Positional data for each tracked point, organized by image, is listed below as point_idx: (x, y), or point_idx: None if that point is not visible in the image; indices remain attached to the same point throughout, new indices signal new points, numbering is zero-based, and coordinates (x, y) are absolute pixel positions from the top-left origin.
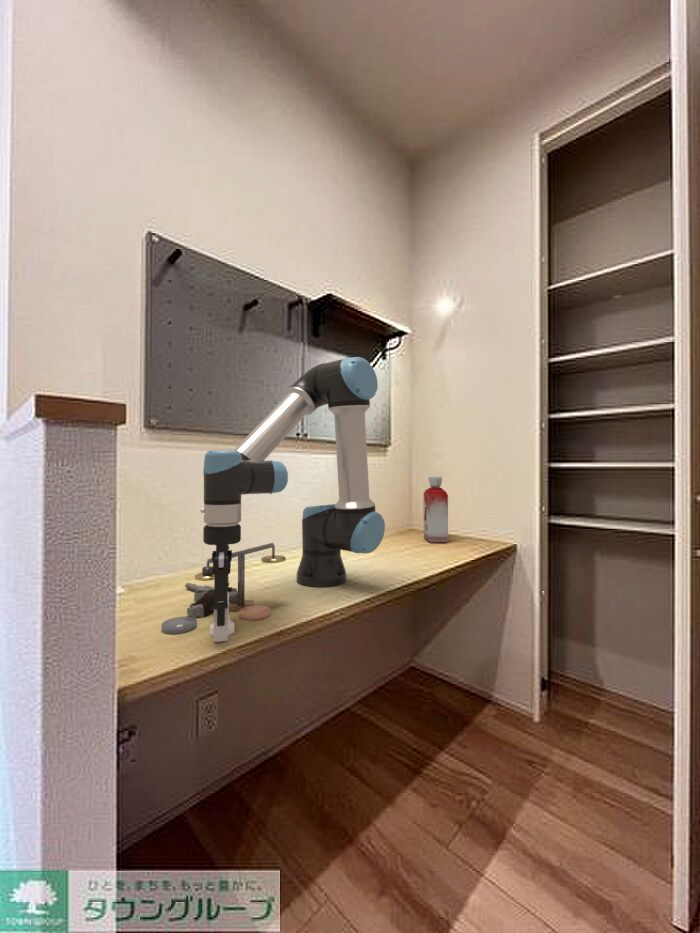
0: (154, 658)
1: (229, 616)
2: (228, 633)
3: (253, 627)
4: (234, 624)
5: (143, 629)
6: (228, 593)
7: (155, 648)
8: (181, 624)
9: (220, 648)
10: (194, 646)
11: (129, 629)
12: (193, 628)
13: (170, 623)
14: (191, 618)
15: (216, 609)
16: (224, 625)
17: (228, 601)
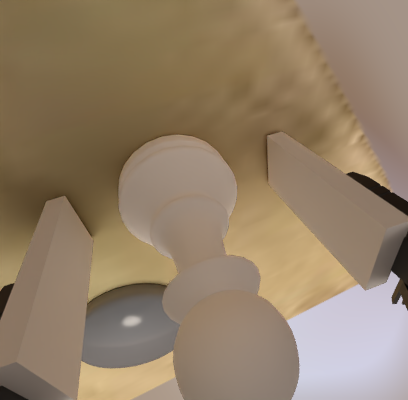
0: (327, 269)
1: (183, 199)
2: (216, 151)
3: (82, 27)
4: (169, 149)
5: (152, 367)
6: (253, 349)
7: (274, 294)
8: (157, 324)
9: (328, 139)
10: (286, 223)
11: (154, 383)
12: (146, 286)
13: (148, 348)
14: (91, 330)
15: (388, 269)
16: (353, 172)
17: (35, 296)
